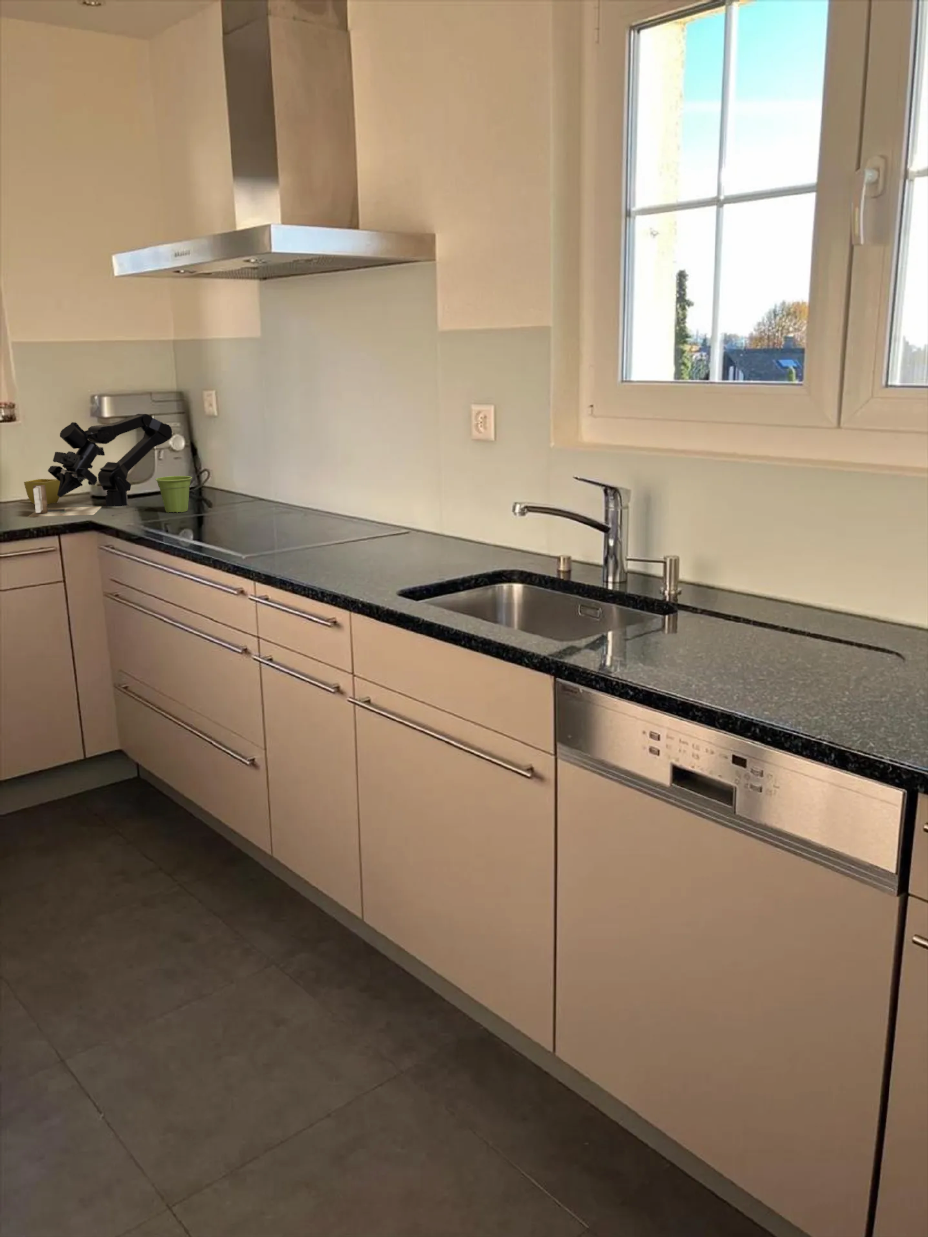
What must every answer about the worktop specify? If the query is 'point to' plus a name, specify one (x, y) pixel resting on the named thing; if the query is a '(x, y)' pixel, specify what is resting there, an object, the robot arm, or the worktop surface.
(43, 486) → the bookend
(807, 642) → the worktop surface
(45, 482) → the flower pot
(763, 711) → the worktop surface
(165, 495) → the plant pot
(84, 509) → the board
